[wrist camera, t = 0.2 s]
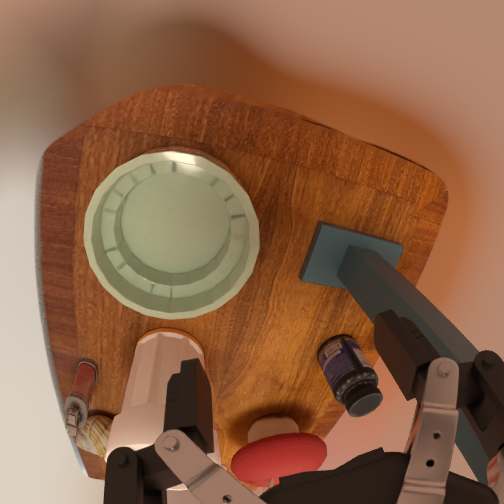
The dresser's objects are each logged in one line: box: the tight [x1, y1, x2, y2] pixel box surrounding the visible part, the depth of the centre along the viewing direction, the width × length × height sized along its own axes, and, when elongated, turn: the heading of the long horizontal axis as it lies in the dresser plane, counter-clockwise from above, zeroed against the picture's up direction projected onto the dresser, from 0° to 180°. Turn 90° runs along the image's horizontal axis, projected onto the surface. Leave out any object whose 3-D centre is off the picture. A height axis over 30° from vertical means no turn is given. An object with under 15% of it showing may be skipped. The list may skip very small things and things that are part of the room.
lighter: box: [64, 358, 98, 436], centre depth 34 cm, size 8×3×10 cm, turn 153°
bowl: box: [84, 146, 260, 320], centre depth 28 cm, size 16×16×6 cm
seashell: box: [76, 415, 113, 458], centre depth 41 cm, size 10×10×10 cm
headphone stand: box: [299, 221, 490, 486], centre depth 22 cm, size 7×12×32 cm, turn 74°
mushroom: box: [231, 414, 327, 489], centre depth 41 cm, size 16×16×15 cm
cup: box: [104, 328, 222, 490], centre depth 30 cm, size 11×11×17 cm
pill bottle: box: [318, 336, 383, 417], centre depth 37 cm, size 6×6×11 cm
